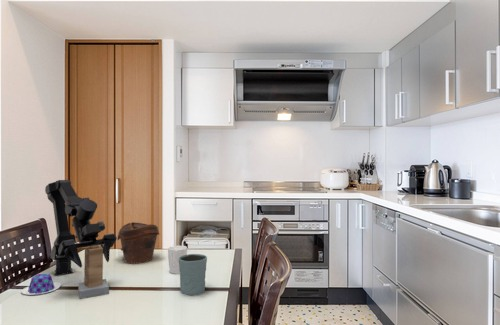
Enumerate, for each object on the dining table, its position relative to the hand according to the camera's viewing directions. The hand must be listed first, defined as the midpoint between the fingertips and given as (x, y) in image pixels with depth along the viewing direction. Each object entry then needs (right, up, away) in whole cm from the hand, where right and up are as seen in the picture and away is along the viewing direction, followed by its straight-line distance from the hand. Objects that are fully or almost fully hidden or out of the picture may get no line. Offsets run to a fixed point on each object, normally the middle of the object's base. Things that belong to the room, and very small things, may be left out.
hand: (95, 264), depth 115 cm
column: (-1, -8, +1) cm, 8 cm away
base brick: (-1, -10, +1) cm, 10 cm away
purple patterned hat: (-21, -11, +3) cm, 24 cm away
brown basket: (+1, -11, +41) cm, 43 cm away
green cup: (+34, -10, +2) cm, 36 cm away
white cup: (+24, -11, +24) cm, 35 cm away
